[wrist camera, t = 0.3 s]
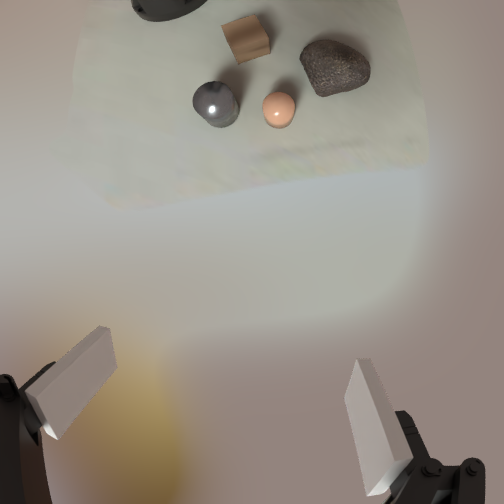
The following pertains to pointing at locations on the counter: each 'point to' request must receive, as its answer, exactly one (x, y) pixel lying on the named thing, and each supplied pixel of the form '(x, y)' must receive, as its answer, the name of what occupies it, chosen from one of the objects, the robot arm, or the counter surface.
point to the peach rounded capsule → (278, 109)
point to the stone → (334, 67)
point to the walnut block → (246, 38)
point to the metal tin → (216, 104)
